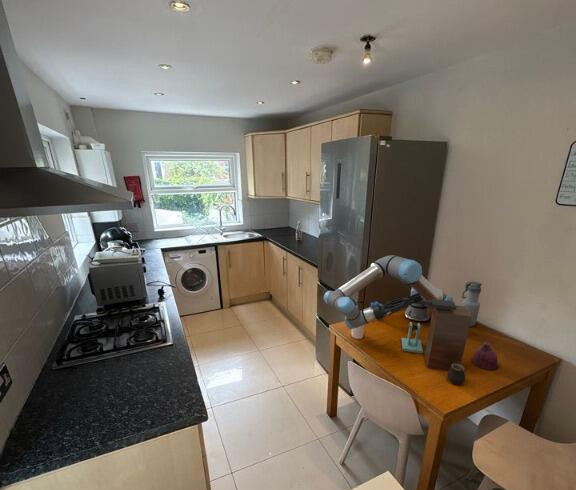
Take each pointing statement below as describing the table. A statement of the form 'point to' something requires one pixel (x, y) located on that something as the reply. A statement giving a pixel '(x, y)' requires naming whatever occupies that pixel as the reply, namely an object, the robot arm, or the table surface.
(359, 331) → the white cup
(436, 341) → the shelf block
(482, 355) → the purple beanie hat
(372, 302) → the grapes
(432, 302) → the spatula
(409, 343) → the mounting bracket
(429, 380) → the table surface
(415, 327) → the black knobbed rod
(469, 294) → the water bottle
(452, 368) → the mate gourd
